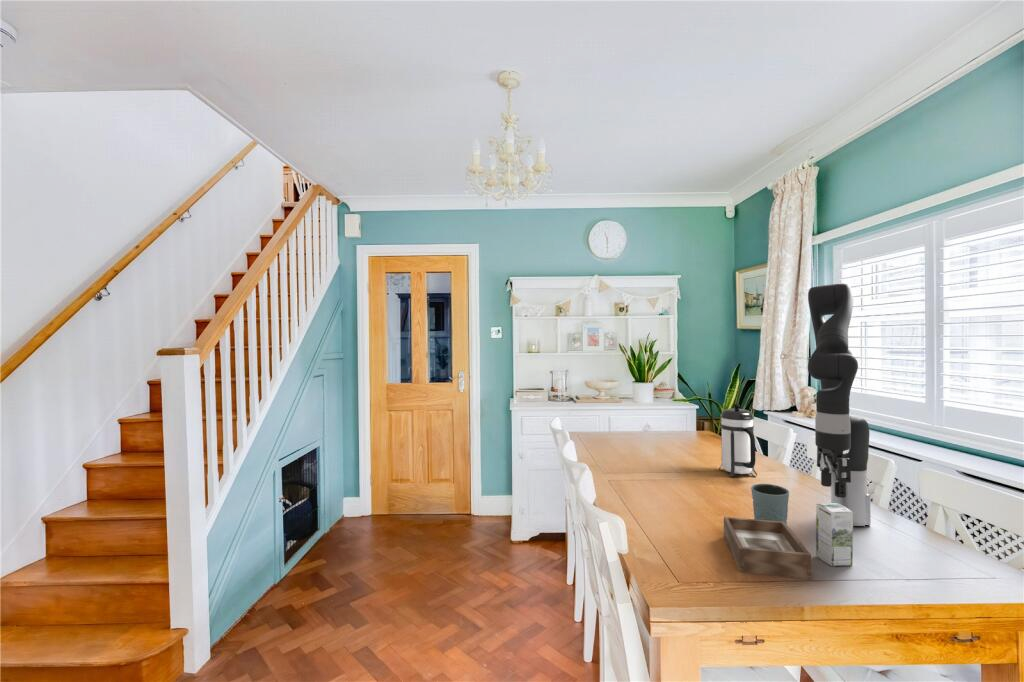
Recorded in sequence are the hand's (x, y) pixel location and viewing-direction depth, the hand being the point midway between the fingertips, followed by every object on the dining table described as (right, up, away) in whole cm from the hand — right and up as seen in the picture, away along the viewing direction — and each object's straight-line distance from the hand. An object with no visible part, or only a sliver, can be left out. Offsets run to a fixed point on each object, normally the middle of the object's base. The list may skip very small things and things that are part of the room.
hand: (832, 491), depth 118 cm
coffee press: (+13, -17, +72) cm, 76 cm away
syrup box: (0, -19, 0) cm, 19 cm away
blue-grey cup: (-4, -19, +21) cm, 28 cm away
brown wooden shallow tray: (-16, -19, +4) cm, 25 cm away
